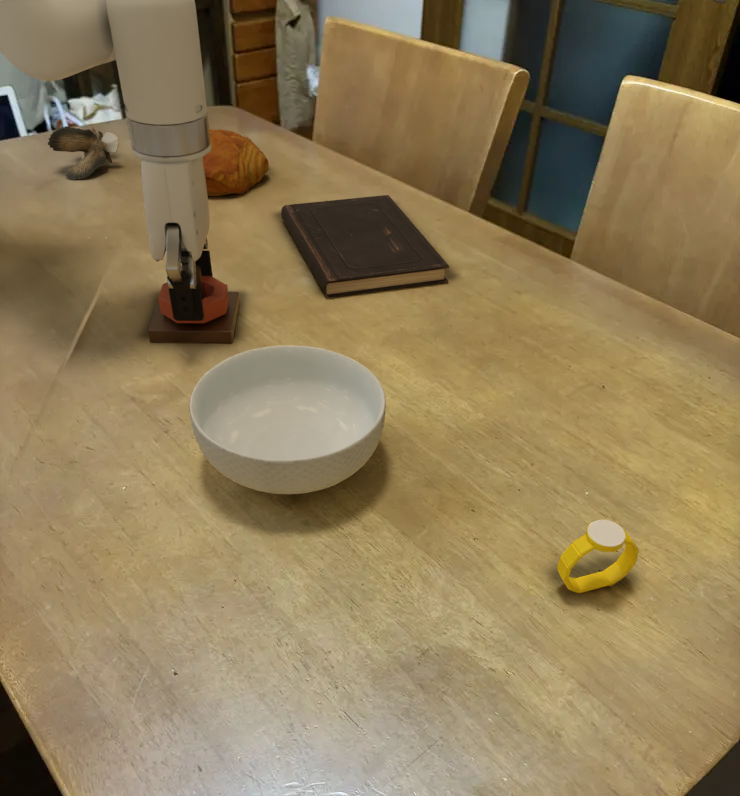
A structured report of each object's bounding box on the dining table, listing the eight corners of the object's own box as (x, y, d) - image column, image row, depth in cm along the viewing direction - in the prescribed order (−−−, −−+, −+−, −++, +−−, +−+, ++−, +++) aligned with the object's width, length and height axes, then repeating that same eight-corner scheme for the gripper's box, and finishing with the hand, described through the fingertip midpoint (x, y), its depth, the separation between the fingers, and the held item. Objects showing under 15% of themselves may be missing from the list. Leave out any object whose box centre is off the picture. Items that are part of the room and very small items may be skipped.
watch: (615, 564, 61) (635, 512, 56) (632, 590, 59) (654, 538, 55) (547, 578, 59) (562, 525, 55) (562, 605, 57) (580, 552, 53)
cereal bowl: (319, 551, 61) (318, 487, 56) (159, 480, 66) (145, 416, 61) (414, 438, 72) (420, 376, 67) (270, 385, 77) (265, 324, 72)
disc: (157, 323, 82) (154, 306, 80) (168, 291, 87) (165, 275, 86) (223, 323, 82) (222, 307, 81) (230, 291, 87) (229, 275, 86)
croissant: (189, 174, 124) (176, 121, 119) (279, 170, 120) (269, 116, 115) (153, 205, 113) (137, 149, 108) (250, 202, 110) (238, 144, 105)
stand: (149, 342, 82) (139, 288, 78) (163, 301, 89) (154, 249, 85) (232, 343, 83) (226, 289, 78) (240, 302, 89) (235, 250, 85)
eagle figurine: (84, 147, 122) (40, 153, 115) (99, 111, 117) (54, 114, 111) (116, 182, 122) (74, 190, 115) (132, 148, 118) (89, 153, 111)
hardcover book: (387, 210, 110) (388, 194, 109) (447, 282, 95) (449, 265, 93) (281, 221, 106) (280, 205, 105) (325, 298, 91) (324, 281, 89)
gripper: (147, 105, 78) (173, 265, 90) (110, 166, 65) (145, 342, 78) (220, 106, 78) (236, 265, 91) (196, 167, 66) (218, 343, 78)
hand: (194, 300), depth 84 cm, fingers closed on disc, 7 cm apart
